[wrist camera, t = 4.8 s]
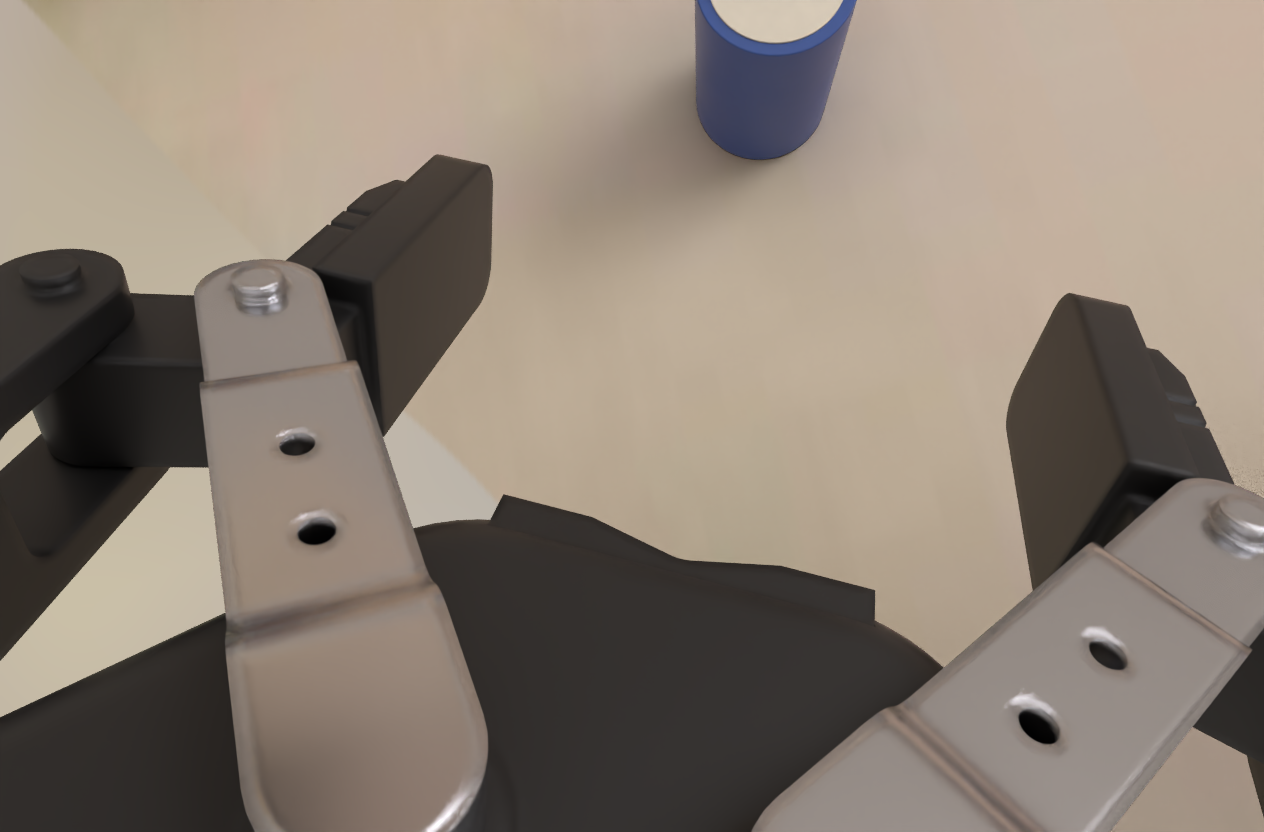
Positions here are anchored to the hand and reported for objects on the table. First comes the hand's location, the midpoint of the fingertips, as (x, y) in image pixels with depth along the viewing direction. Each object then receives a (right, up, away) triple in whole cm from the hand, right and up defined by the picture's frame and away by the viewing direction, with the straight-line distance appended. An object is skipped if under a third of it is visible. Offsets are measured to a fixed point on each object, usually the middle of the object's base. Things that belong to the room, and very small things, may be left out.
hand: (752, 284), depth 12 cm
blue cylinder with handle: (+4, +13, +23) cm, 27 cm away
